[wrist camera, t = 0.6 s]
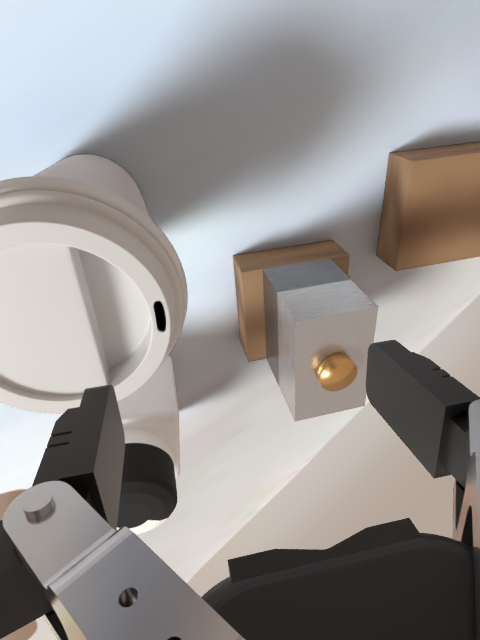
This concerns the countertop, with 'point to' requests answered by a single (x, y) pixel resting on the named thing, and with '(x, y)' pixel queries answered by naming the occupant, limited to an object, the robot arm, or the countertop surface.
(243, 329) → the stand
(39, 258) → the coffee cup
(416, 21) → the countertop surface
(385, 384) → the robot arm
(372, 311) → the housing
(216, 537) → the countertop surface
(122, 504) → the medicine bottle
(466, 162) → the stand
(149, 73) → the countertop surface
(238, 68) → the countertop surface
